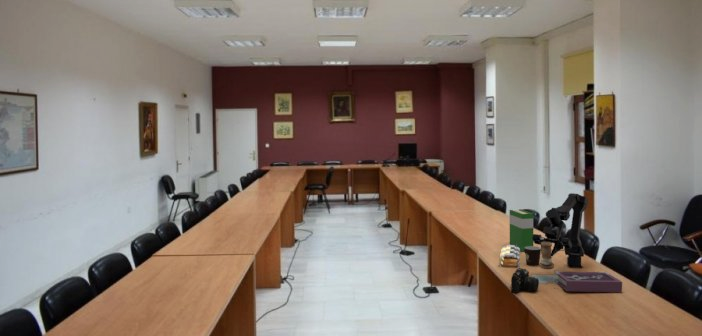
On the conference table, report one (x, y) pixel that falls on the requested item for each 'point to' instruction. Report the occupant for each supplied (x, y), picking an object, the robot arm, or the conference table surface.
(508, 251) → the diorama
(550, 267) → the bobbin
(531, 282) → the film camera
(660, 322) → the conference table surface
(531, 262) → the coffee mug
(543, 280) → the flat light blue board
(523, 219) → the hardback book
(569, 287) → the book
